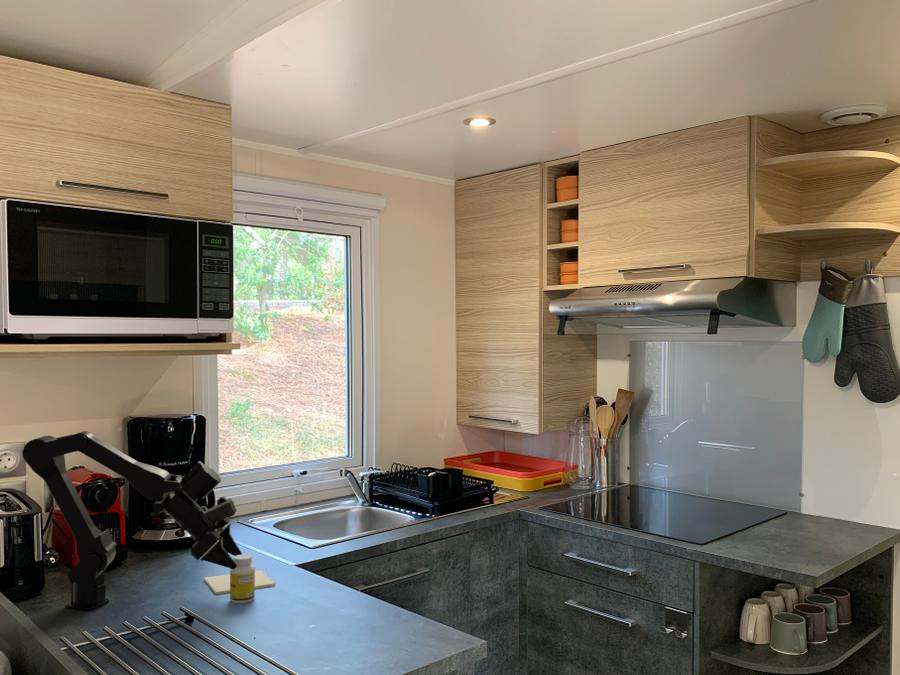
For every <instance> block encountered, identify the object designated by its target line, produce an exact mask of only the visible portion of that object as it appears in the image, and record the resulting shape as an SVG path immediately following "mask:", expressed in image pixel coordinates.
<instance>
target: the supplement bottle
mask: <svg viewBox="0 0 900 675" xmlns="http://www.w3.org/2000/svg"><path fill="white" fill-rule="evenodd" d="M252 557H253V556H252V555H251V554H245V553H242V555H237V556H233V560H234V562H235V563H236V565H237V567H236V568H235V569H230V572H229V574H230V593H229V600H230V602H232V603H234V604H246V603H250V602H252V601H254V600H255V596H256V595H255V591H256V589H255V571H256V569H255V566H254V565H253V564H252V561H253V558H252Z"/></svg>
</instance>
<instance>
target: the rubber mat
mask: <svg viewBox="0 0 900 675" xmlns="http://www.w3.org/2000/svg"><path fill="white" fill-rule="evenodd" d="M203 581H204V582H205V583H206V584H207V586H208V587H209V588H210V590H211V591H212V592H213V593H214V595H222V594H230V573H228V574H221V575H214V576H208V577H207V576H206V577H203ZM275 586H276V583H275V581H273V579H272V578H270V576H268V575H267V574H266V573H265V572H264V571H262V569H258V570H257V569H256V570H255V590H257V589H261V588H268V587H275Z"/></svg>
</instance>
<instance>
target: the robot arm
mask: <svg viewBox="0 0 900 675" xmlns="http://www.w3.org/2000/svg"><path fill="white" fill-rule="evenodd" d="M21 452H22V453H21V455H22V458H23V460H24V461H25V463H26V464H27V465H28V467H29V468H30V469H31V470H32V472H33V473H35V474H36V475H37V476H38V477H40V478H41V479H42V480H44V483H45V485H46V486H47V488H48V489H49V492H50V493H51V495H52V497H53V499H54V501H55V503H56V504H57V506H58V509H59V510H60V512H61V514H62V516H63V518H64V520H65V522H66V524H67V526H68V528H69V530H70V531H71V533H72V535H73V537H74V543H75V554H76V556H77V560H78V563H77V564H76V565H75V566H74V567H73V568H72V569H71V570H70V571H69V572H68V573H67V577H68V579H69V582H70V583H71V586H70V587H71V590H70V594H71V595H70V602H68V603H65V605H64V606H65V608H69V609H75V610H80V611H81V610H82V611H90V610H94V609H95V608H98V607H100V606H103V605H105V604H107V603H109V602H110V599H109V598H106V586H107V585H106V584H107V583H105V578H106V576H105V575H103V574H102V573H103V572H105V571H106V568H107V567H108V566H109V565H110V564H111V563H112V562H113V561H114V559H115V556H116V553H117V550H116V546H117V542H116V541H114V539H113V538H112V535H111V532H110V529H108V528H107V529H105V530H103V531H102V530H101V529H99V528H98V527H97V526H96V525H95V524H94V521H93V520H92V518H91V516H90V514H89V512H88V510H87V508H86V506H85V504H84V502H83V500H82V498H81V496H80V494H79V493H78V491H77V489H76V487H75V485H74V483H73V481H72V480H71V478H70V476H69V474H68V472H67V469H66V467H67V466H66V458H65V455H67V454H70V453H74V452H79V453H81V454H83V455H85V456H86V457H88V458H90V459H92V460H94V461H95V462H97V463H99V464H100V465H102V466H103V467H106V468H107V469H109V471H110V470H111V471H112V472H114V473H116V474H118V475H119V476H121V477H123V478H124V479H125V480H127V481H128V482H129V484H130V486H132V488H133V489H135V490H136V491H137V492H138V493H139V494H140V495H141V496H143V497H144V498H145V499H148V500H152V501H153V500H157V499H158V500H159V499H160V498H162V497H164V495H166V494H167V495H166V496H165V497H164V498H163V499H162V500H160V501H155V503H153V506H154V507H153V508H154V512H153V515H154V516H155V517H157V516H158V515H160V514H161V512H165V513H166V514H167V515H168V516H169V517H170V518H171V519H173V521H175V522H176V523H177V524H178V525H179V526H180V528H179V530H180V531H181V532H182V533H184V532H186V533H187V534H189V536H190V537H191V538H193V539H194V540H193V541H192V543H194V544H193V546H192V547H191V548H190V550H191V551H190V553H191V554H190V555H191V556H192V557H193V558H195V560H196V561H199V560H200V561H201V562H208V563H211V564H215V565H218V566H221V567H224V568H228V569H230V570H231V569H235V568H236V567H237V565H236V563H235V562H234V558H232V557H231V556H233V557H235V556H237V555H242V554H243V552H242V551H241V550H240V548H239V546H238V545H237V543H236V541H235V539H234V537H233V536H232V534H231V525H232V524H231V522H230V521H231V520H230V519H229V518H231V517H233V516H235V515H236V512H237V511H238V510H237V508H236V506H235V505H234V504H235V501H234V500H232V498H227V497H226V496H221V497H219V498H218V499H217V500H216V505H213V506H212V507H210V508H207V506H206V505H204V506H203V505H202V506H200V505H199V504H198V503H196V501H195V500H198V499H200V500H203V499H205V498H206V497H207V496H208V495H209V494H210V493H211V492H212V491H213V490H214V489H215V488H216V487H217V486H218V485H219V484H220V483H221V482H222V478H221V477H220V475H219V474H218V473H217V472H216V471H215V470H214V469H213V468H211V467H209V466H208V465H206V464H204V463H203V462H202V461H200V460H199V461H197V462H196V463H195V464H194V465H193V466H192V468H191V469H190V471H189V472H187V473H186V474H185V475H177V474H171V473H169V472H168V471H167V470H165V469H162V468H159V467H157V466H154V465H152V464H148V463H144V462H140V461H138V460H136V459H134V458H132V457H131V456H129V455H127V454H125V453H123V452H122V451H121V450H119V449H117V448H116V447H113V446H112V445H111V444H108V443H107V442H105V441H104V440H102V439H100V438H98V437H96V436H95V435H94V434H93V433H91V432H90V431H87V430H86V431H85V430H83V431H79V432H77V433H75V434H69V435H64V436H59V437H55V436H51V435H43V436H41V437H37V438H33V439H30V441H28V442H27V443H26V444H25V445H24V446H23V449H22V451H21ZM180 486H181V489H179V490H178V491H177V492H176V493H174V491H175V490H177V489H178V488H179V487H180ZM172 492H173V493H172Z"/></svg>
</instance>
